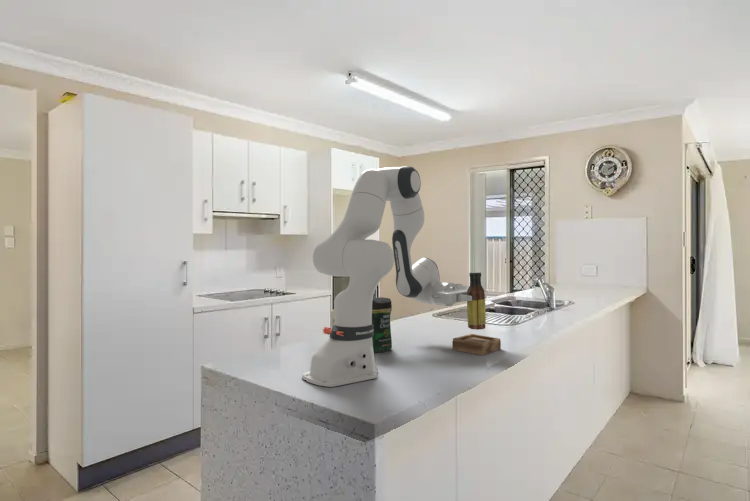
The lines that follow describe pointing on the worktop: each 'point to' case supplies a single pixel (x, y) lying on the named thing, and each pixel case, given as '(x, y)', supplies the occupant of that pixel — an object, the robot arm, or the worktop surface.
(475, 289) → the sauce bottle
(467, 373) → the worktop surface
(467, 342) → the tray
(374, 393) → the worktop surface
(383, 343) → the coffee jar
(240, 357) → the worktop surface
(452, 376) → the worktop surface
